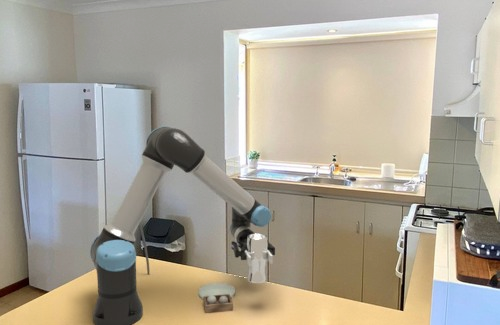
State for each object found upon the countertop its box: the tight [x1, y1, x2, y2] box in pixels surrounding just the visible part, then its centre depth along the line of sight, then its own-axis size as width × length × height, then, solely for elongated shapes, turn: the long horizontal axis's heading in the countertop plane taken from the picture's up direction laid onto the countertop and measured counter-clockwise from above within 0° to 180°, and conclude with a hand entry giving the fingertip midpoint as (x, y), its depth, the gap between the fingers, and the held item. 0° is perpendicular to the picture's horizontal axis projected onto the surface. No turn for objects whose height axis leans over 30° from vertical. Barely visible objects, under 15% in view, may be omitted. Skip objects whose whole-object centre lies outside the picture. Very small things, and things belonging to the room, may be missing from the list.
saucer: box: [198, 282, 236, 300], centre depth 148 cm, size 13×13×1 cm
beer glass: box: [247, 233, 268, 284], centre depth 136 cm, size 7×7×15 cm
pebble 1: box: [207, 295, 217, 305], centre depth 138 cm, size 3×3×3 cm
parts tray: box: [202, 294, 234, 314], centre depth 138 cm, size 9×7×2 cm
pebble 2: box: [219, 296, 228, 304], centre depth 137 cm, size 3×3×3 cm
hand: (260, 260), depth 131 cm, fingers closed on beer glass, 6 cm apart
